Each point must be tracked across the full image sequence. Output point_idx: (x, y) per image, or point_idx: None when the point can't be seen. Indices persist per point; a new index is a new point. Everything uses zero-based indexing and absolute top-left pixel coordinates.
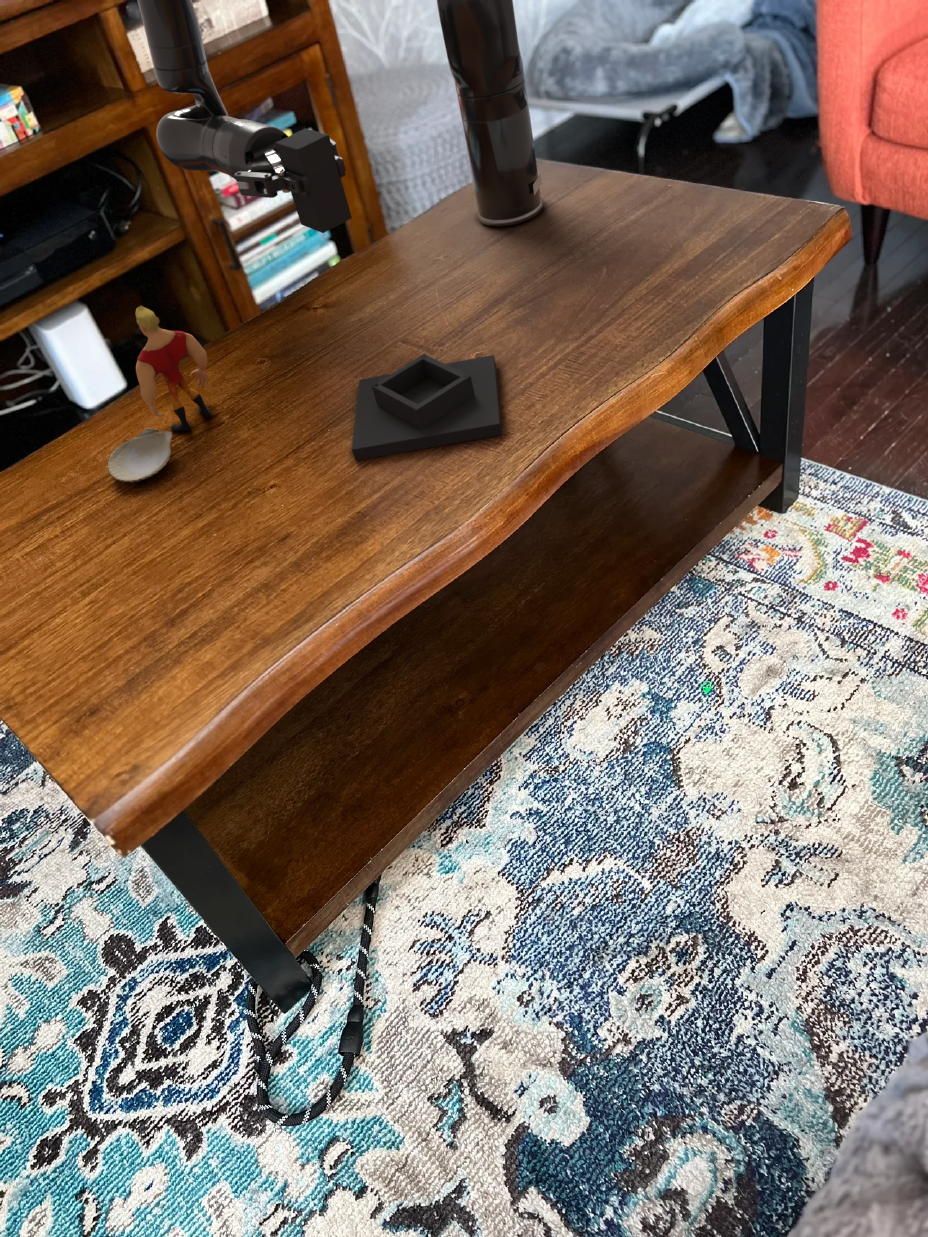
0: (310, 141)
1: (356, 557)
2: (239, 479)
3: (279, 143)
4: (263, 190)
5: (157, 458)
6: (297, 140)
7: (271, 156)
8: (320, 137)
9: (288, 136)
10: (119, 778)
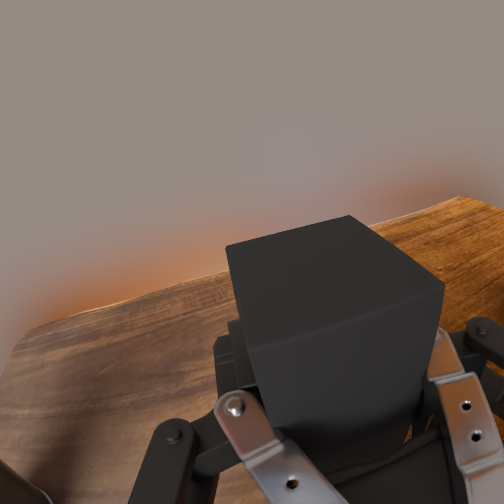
0: (296, 234)
1: (390, 231)
2: (464, 279)
3: (420, 267)
4: (497, 393)
5: None
6: (337, 255)
7: (482, 451)
8: (256, 241)
9: (373, 307)
10: (462, 199)
